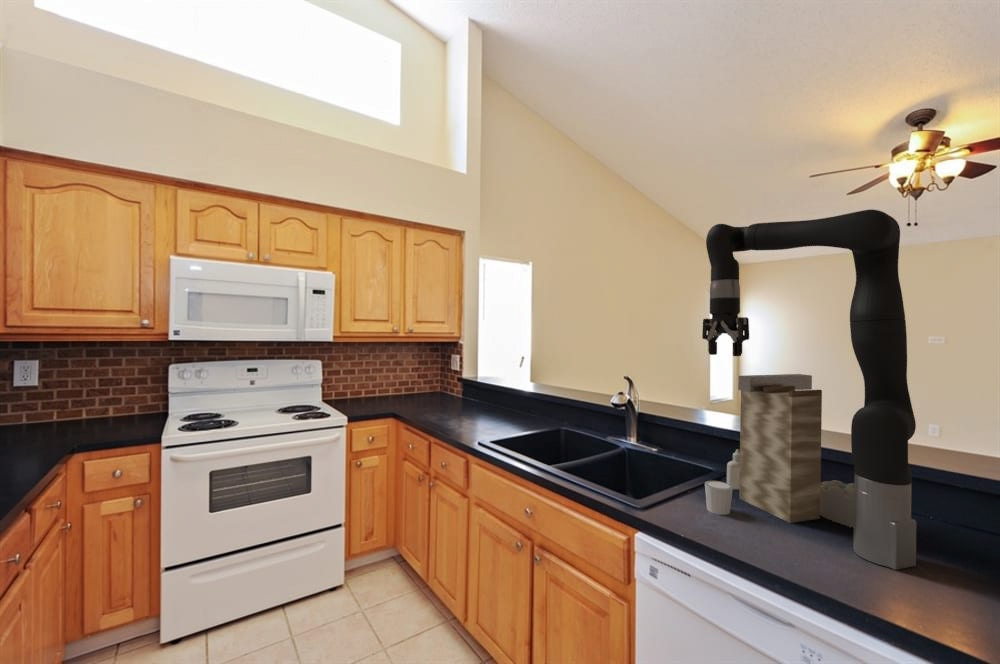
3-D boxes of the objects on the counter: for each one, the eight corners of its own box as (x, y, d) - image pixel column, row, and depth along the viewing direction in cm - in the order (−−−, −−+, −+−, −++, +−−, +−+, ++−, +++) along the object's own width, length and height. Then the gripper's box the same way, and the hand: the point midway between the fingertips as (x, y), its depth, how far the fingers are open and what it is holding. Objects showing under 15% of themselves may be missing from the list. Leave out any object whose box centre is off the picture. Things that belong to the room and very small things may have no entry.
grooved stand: (820, 518, 112) (821, 390, 112) (790, 522, 109) (791, 391, 109) (766, 495, 128) (768, 382, 127) (739, 498, 125) (740, 383, 125)
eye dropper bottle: (747, 492, 130) (748, 452, 130) (726, 488, 133) (727, 450, 132) (746, 487, 134) (747, 448, 134) (726, 484, 136) (726, 446, 136)
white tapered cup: (730, 518, 112) (730, 491, 112) (701, 511, 116) (701, 485, 116) (734, 509, 117) (734, 483, 117) (707, 503, 122) (707, 478, 122)
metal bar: (811, 389, 124) (811, 375, 124) (750, 391, 118) (750, 377, 118) (798, 387, 128) (798, 374, 128) (738, 389, 122) (738, 375, 122)
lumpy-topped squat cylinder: (858, 531, 105) (859, 496, 105) (805, 510, 118) (805, 478, 117) (886, 525, 109) (886, 491, 109) (831, 505, 121) (831, 474, 121)
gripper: (757, 295, 114) (756, 356, 114) (716, 299, 128) (715, 353, 128) (734, 294, 112) (734, 357, 112) (695, 298, 126) (694, 354, 126)
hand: (724, 355), depth 120 cm, fingers open, 8 cm apart
